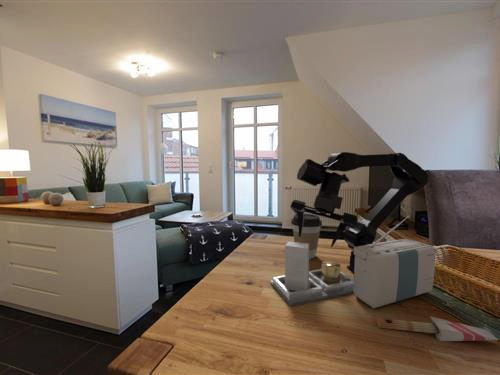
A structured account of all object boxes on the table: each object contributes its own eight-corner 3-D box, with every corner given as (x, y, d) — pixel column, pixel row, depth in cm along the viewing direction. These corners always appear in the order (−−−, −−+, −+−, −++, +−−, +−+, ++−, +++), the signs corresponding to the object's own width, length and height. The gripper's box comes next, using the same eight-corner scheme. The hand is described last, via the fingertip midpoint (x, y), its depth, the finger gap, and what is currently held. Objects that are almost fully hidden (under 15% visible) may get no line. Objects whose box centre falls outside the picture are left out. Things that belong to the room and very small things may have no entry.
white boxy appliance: (375, 313, 55) (379, 228, 53) (348, 295, 62) (351, 220, 60) (434, 295, 62) (440, 220, 60) (404, 281, 70) (408, 213, 68)
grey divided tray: (331, 272, 76) (332, 254, 75) (360, 291, 64) (361, 270, 64) (270, 283, 69) (270, 263, 68) (290, 306, 57) (291, 283, 57)
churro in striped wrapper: (501, 334, 44) (380, 322, 49) (500, 348, 44) (380, 334, 49) (486, 321, 47) (375, 310, 52) (485, 334, 48) (375, 322, 53)
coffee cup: (298, 248, 98) (298, 212, 96) (325, 254, 91) (326, 215, 90) (284, 257, 88) (285, 217, 87) (314, 264, 82) (315, 221, 80)
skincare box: (309, 285, 66) (310, 243, 65) (307, 293, 62) (308, 248, 61) (287, 282, 68) (287, 240, 67) (284, 289, 64) (284, 245, 63)
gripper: (295, 175, 68) (279, 228, 65) (366, 191, 61) (352, 250, 58) (299, 187, 78) (285, 233, 75) (360, 202, 72) (348, 253, 68)
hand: (315, 241), depth 69 cm, fingers open, 9 cm apart
